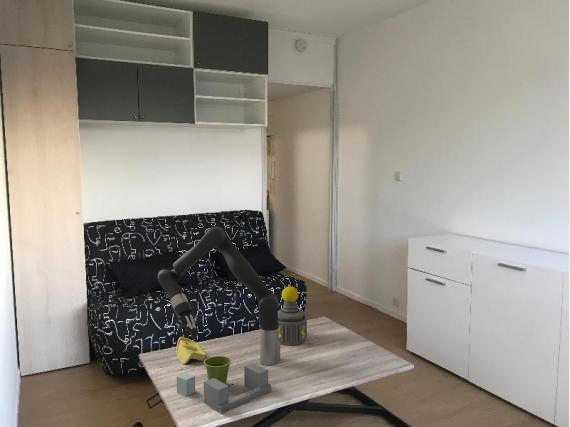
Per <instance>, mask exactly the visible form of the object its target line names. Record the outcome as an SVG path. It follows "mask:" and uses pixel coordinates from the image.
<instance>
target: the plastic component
mask: <svg viewBox="0 0 570 427" xmlns="http://www.w3.org/2000/svg"><path fill="white" fill-rule="evenodd" d="M175 349H176V357H177V358H178V360H179V361H180V362H181V364H182V365H186V364H187V363H188V362H189V361H190V360H191V359H192V360H198V361H203V362H204V360H205V359H206V356H207V353H206V352H205V351H204V349H202V347H201V346H200V345H199V343H197V342H196V341H194V340H192V339H190V338H187V337H183V336H180V337H179V338H178V340H177V343H176V348H175Z"/></svg>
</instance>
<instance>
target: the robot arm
mask: <svg viewBox="0 0 570 427" xmlns="http://www.w3.org/2000/svg"><path fill="white" fill-rule="evenodd" d="M215 248H216V249H217V250H218V251H219V253H220V254H222V256H223V257H224V259H225V261H226V264H227V266H228V269H229V270H230V271H231V272H230V273H232V275H233V276H234V277H235V279H237V280H238V282H240V284H241V285H243V286H244V287H245V288H247V289H248V290H249V291H250V292H251V293H252V294H253V295H254V297H256V299H257V301H258V302H259V304H258V323H259V363H260V364H261V365H263V366H274V365H277V364H278V363H280V361H281V344H280V342H279V323H278V311H279V304H280V300H279V298H278V297H277V296H276V294H275V293H274V292H272V290H271V289H270V288H269V287H268V286H267V285H266V284H265V283H264V282H263V280H262V279H261V277H260V275H259V274H258V273H257V272H256V270H255V269H254V268H253V266H252V265H251V264H250V263H249V261H248V260H247V259H246V258H245V256H244V255H243V254H242V253H241V252H240V251H239V250H238V248H237V247H236V246H235V245H234V243H233V242H232V240H231V239H230V237H229V236H228V234H227V232H226V231H225V230H224V228H222V227H220V226H213V227H210V228H208V229H207V231H206V232H205V233H204V235H203V236H202V237H201V239H199V240H198V241H197V243H196V244H195V245H194V246H192V247H191V248H190V249H189V250H187V251H186V252H184V253H183V254H182V255H181V256H180V257H179V258H178V259H176V261H174V262H173V264H172V267H173V269H171V270H170V269H165V268H164V269H163V268H162V269H161V270H159V272H158V274H157V280H158V284H160V286H161V288H162V289H163V290H164V292H166V294H167V296H168V299H169V301H170V303H171V307H172V308H173V310H174V312H175V315H176V317H177V322H176V323H175V326H176V327H178V328H179V329H181V330H182V331H184V332H189V334H190V335H191V338H193V339H196V338H198V336H199V333H198V330H197V329H198V327H199V325H200V321H201V315H198V316H197V315H196V314H195V313H194V312H193V308H192V307H191V304H190V303H189V301H188V297H187V296H186V294H185V293H184V291H183V288H182V287H181V285H179V284H177V283H178V282H179V281H180V280H181V279H182V277H183V276H184V274H185V273H186V272H187V271H188V270H189V269H191V267H193V266H194V265H195V264H196V263H197V262H198V261H199V260H200V259H201V258H202V257H203V256H204V255H205V254H207V253H208V252H210V251H211V250H214V249H215Z"/></svg>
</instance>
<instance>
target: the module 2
mask: <svg viewBox="0 0 570 427" xmlns="http://www.w3.org/2000/svg"><path fill="white" fill-rule="evenodd" d="M229 387H230V386H229V385H227V383H226V384H224V383H222V382H220V381H219V380H217V379H215V378H212V379H210V380H208V379H207V380H205V381H203V403H204V404H205V405H206V406H208V407H210V408H212V409H213V410H215V411H216V412H218V413H219V404H222V403H224V402H226V401H229V400H230V398H229V396H230V394H229V391H230V390H229Z"/></svg>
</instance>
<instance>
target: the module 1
mask: <svg viewBox="0 0 570 427" xmlns="http://www.w3.org/2000/svg"><path fill="white" fill-rule="evenodd" d="M175 378H176V393H178V394H181V395H183V396H185V397H188V396H189V395H191V394H193V393H195V392H196V375H194V374H191V373H189V372H183V373H181V374H179V375H177V376H176V377H175Z"/></svg>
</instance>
